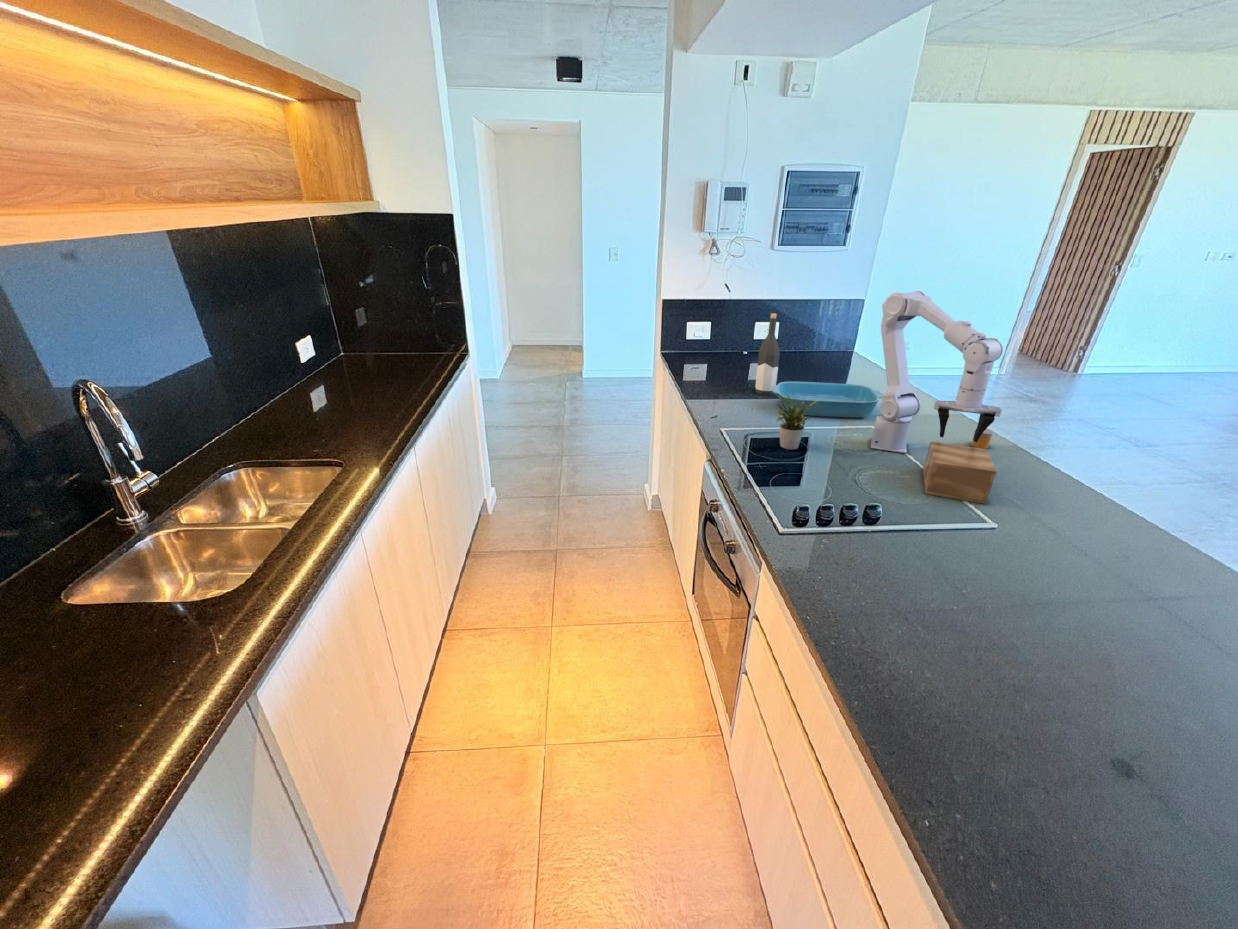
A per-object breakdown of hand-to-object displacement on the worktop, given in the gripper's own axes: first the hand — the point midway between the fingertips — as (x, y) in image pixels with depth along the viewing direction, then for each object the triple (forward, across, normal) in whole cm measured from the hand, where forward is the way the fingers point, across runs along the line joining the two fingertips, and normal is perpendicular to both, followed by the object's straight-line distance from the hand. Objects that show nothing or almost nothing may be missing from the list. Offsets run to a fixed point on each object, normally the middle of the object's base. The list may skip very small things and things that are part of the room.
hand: (958, 438), depth 138 cm
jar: (+9, +10, +24) cm, 27 cm away
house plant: (+10, -43, 0) cm, 44 cm away
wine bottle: (+10, -59, +53) cm, 80 cm away
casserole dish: (+10, -36, +40) cm, 55 cm away
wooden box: (+9, 0, -10) cm, 14 cm away
